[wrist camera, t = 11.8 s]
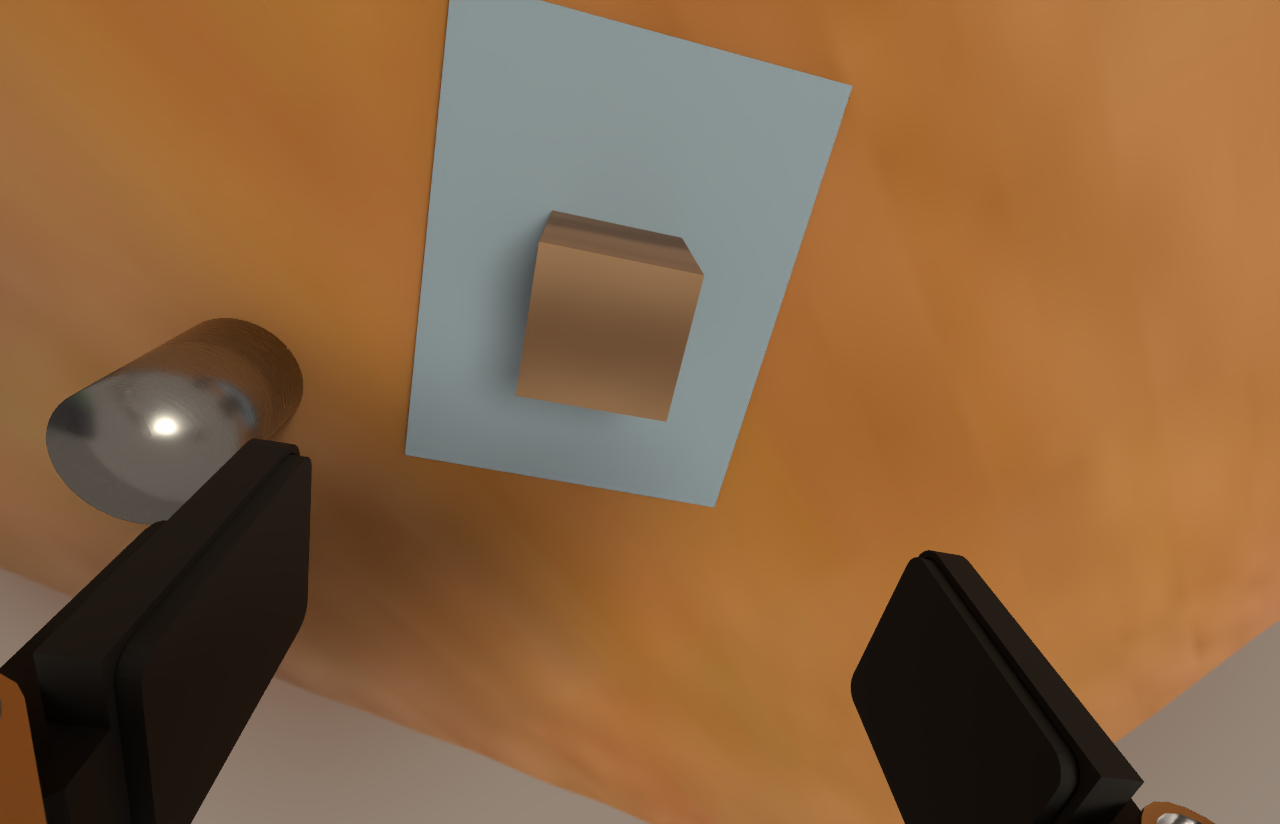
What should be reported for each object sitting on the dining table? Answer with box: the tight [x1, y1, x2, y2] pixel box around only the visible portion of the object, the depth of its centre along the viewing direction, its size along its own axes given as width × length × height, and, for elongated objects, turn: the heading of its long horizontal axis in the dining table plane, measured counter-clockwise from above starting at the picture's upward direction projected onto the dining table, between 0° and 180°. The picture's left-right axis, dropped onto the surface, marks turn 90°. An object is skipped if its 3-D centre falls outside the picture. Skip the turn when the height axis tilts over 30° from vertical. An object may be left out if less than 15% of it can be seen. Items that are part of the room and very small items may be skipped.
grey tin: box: [46, 318, 303, 524], centre depth 24 cm, size 5×5×7 cm
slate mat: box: [405, 0, 853, 507], centre depth 26 cm, size 18×14×1 cm
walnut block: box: [516, 210, 704, 422], centre depth 23 cm, size 5×5×6 cm
